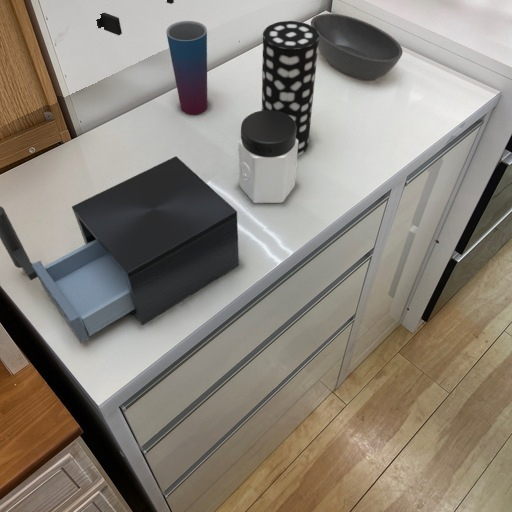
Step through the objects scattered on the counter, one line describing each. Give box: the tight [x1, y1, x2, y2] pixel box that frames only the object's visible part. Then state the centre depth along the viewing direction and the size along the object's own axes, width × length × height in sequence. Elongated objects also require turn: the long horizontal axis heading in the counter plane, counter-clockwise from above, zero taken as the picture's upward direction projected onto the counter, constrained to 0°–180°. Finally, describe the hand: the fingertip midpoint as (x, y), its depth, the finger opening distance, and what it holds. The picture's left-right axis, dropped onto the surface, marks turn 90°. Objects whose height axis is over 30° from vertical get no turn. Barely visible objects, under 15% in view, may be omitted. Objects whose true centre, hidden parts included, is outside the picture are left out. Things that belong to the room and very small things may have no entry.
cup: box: [165, 20, 208, 116], centre depth 95 cm, size 7×7×15 cm
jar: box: [238, 110, 298, 204], centre depth 82 cm, size 9×8×12 cm
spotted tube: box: [261, 20, 319, 157], centre depth 86 cm, size 8×8×20 cm
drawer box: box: [71, 155, 240, 326], centre depth 72 cm, size 16×14×11 cm
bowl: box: [310, 13, 404, 82], centre depth 108 cm, size 12×22×6 cm, turn 39°
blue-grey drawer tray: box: [0, 205, 135, 344], centre depth 69 cm, size 16×18×10 cm
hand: (146, 10), depth 92 cm, fingers open, 13 cm apart
